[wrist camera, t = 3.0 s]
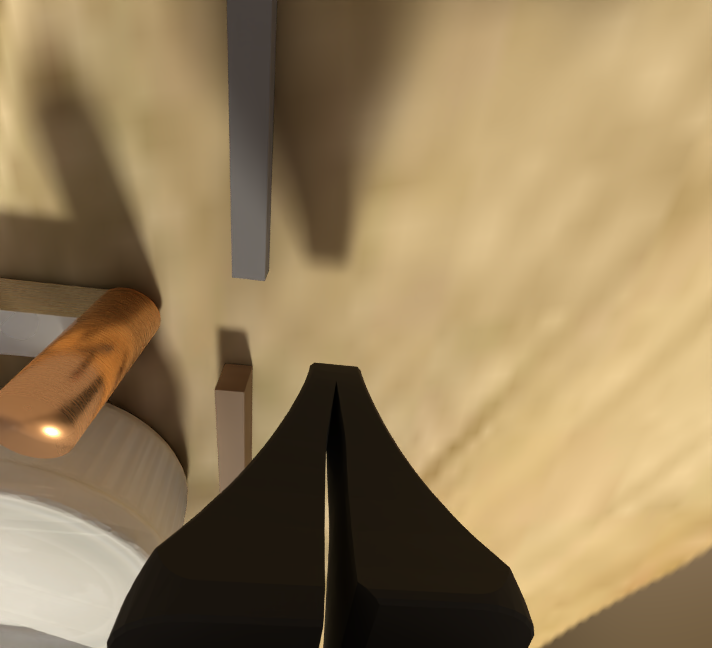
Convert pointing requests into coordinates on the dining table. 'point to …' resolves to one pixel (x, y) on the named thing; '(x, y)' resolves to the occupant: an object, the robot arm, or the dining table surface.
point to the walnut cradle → (233, 421)
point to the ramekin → (83, 530)
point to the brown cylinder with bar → (66, 358)
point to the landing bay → (251, 131)
